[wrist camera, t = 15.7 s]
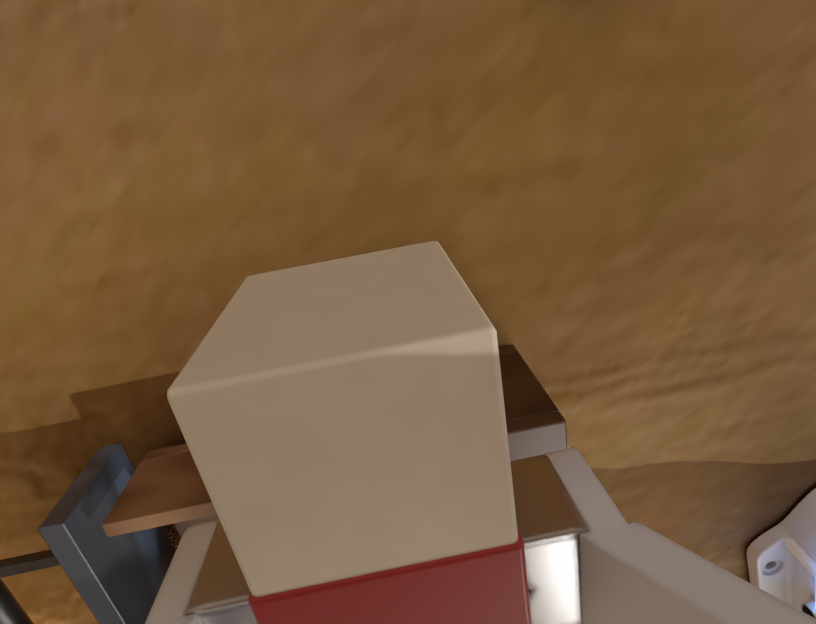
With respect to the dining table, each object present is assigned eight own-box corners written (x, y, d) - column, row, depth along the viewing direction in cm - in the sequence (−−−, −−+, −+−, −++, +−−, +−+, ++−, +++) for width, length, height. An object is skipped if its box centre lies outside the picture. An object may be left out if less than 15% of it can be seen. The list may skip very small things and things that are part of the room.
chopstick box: (489, 573, 11) (548, 780, 8) (347, 603, 11) (343, 825, 7) (440, 237, 8) (504, 328, 4) (242, 274, 8) (153, 397, 4)
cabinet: (317, 561, 33) (306, 681, 26) (259, 396, 28) (226, 491, 21) (530, 515, 33) (576, 621, 26) (513, 344, 28) (566, 420, 21)
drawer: (93, 613, 31) (39, 715, 26) (-3, 467, 27) (-93, 556, 21) (386, 550, 32) (393, 637, 27) (345, 396, 27) (343, 464, 22)
